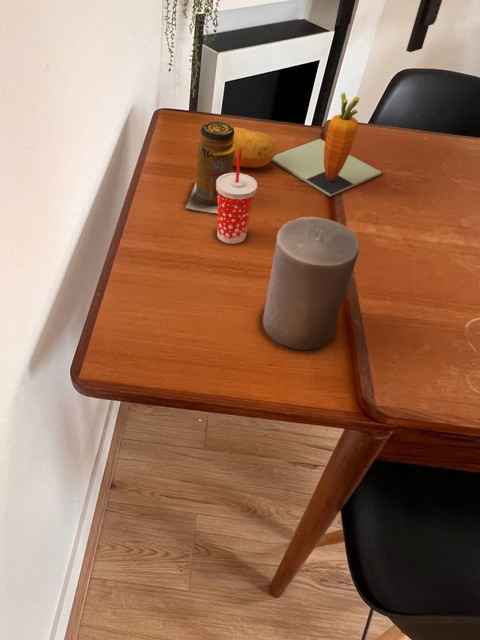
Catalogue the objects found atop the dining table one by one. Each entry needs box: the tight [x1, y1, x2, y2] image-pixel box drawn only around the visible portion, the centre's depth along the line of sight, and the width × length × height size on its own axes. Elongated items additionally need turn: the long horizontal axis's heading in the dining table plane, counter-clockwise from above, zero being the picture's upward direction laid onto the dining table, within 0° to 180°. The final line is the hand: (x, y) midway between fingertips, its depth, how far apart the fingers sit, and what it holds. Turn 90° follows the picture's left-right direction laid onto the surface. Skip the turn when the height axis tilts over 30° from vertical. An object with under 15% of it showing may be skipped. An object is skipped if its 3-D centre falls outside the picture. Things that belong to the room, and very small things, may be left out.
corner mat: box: [271, 138, 382, 197], centre depth 100 cm, size 16×14×1 cm
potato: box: [232, 126, 278, 169], centre depth 97 cm, size 8×14×7 cm, turn 67°
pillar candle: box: [262, 216, 361, 351], centre depth 66 cm, size 10×10×15 cm
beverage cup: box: [216, 149, 258, 245], centre depth 79 cm, size 6×6×14 cm
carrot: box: [324, 92, 360, 182], centre depth 90 cm, size 5×5×15 cm
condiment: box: [185, 120, 235, 214], centre depth 86 cm, size 7×8×12 cm
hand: (376, 36), depth 79 cm, fingers open, 13 cm apart
